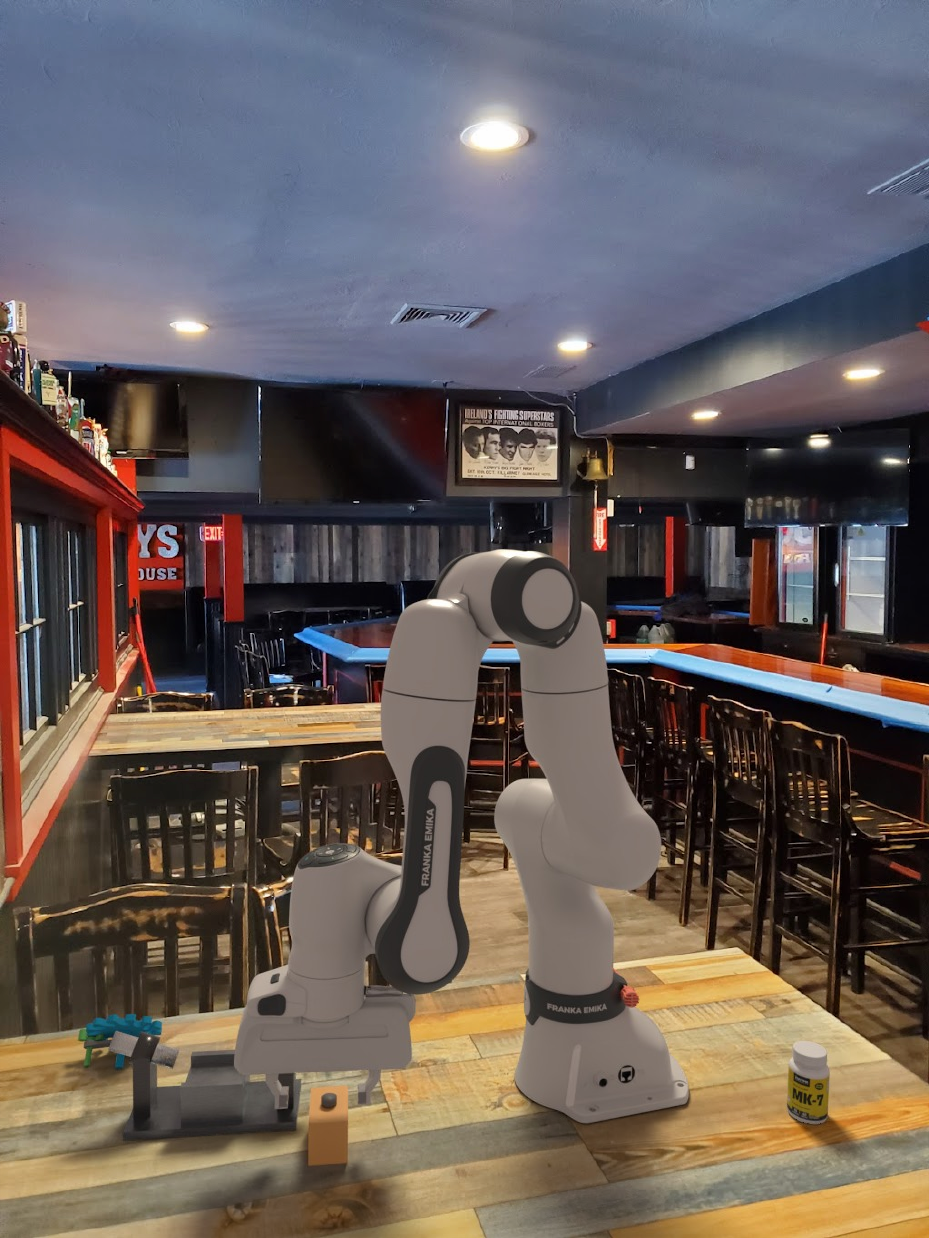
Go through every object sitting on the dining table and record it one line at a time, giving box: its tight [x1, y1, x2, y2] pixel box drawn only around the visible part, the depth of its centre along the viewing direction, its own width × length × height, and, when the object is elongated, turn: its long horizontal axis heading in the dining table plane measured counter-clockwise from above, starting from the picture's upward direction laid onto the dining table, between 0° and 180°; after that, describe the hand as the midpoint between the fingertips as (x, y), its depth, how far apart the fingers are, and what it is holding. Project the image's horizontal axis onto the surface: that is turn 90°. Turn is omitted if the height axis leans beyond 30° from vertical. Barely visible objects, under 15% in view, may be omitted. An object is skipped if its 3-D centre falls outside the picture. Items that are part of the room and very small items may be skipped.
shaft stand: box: [107, 1031, 302, 1141], centre depth 110 cm, size 25×9×11 cm, turn 97°
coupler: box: [307, 1085, 349, 1167], centre depth 104 cm, size 7×4×6 cm, turn 7°
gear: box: [77, 1013, 163, 1070], centre depth 121 cm, size 11×6×10 cm
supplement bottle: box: [786, 1040, 831, 1125], centre depth 111 cm, size 5×5×8 cm
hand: (322, 1104), depth 103 cm, fingers open, 8 cm apart
